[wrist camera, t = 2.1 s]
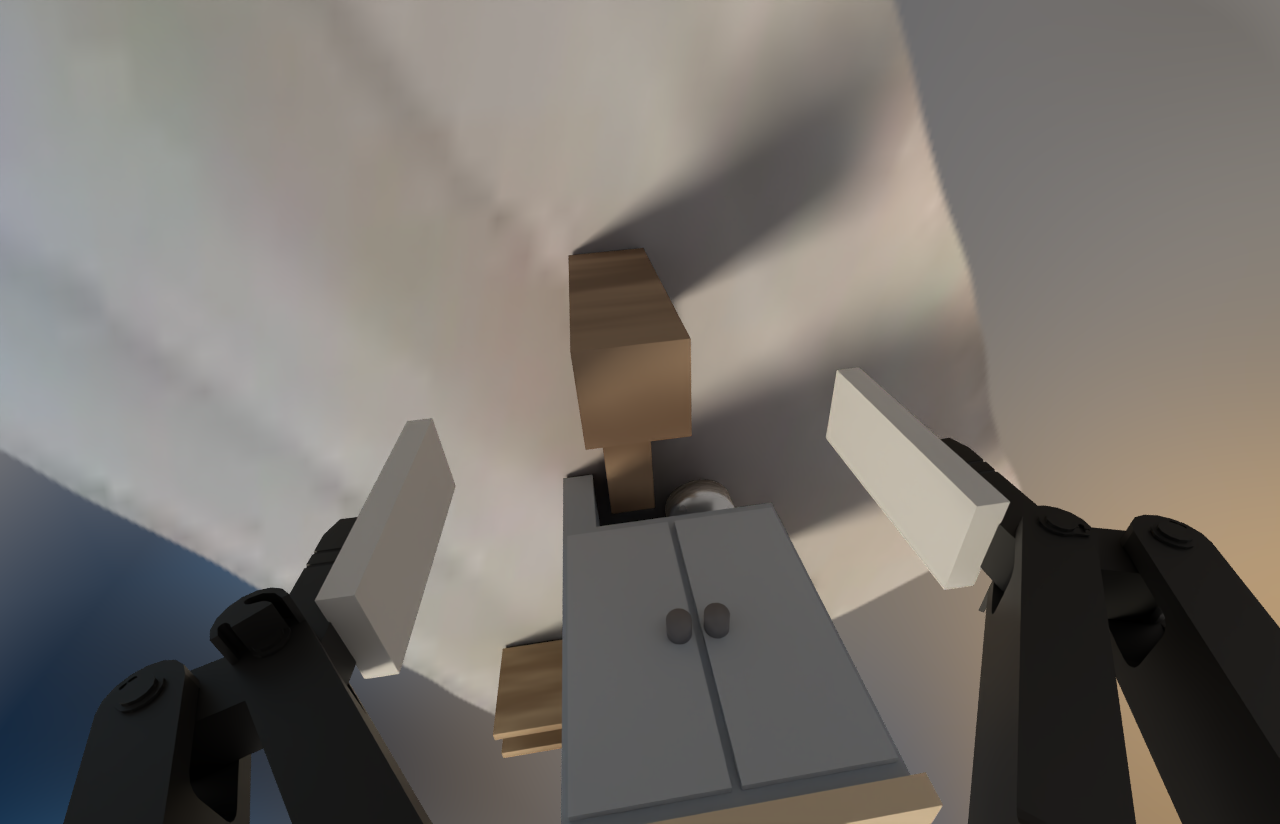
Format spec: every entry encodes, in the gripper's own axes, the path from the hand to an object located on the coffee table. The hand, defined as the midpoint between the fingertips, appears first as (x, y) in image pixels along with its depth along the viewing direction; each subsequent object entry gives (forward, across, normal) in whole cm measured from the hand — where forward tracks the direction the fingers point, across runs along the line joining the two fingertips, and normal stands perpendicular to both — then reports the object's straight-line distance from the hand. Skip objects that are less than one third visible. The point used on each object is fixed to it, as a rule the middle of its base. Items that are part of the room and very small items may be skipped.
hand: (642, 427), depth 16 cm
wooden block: (+14, 0, -6) cm, 15 cm away
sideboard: (+14, +2, -18) cm, 23 cm away
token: (+14, +5, -17) cm, 23 cm away
